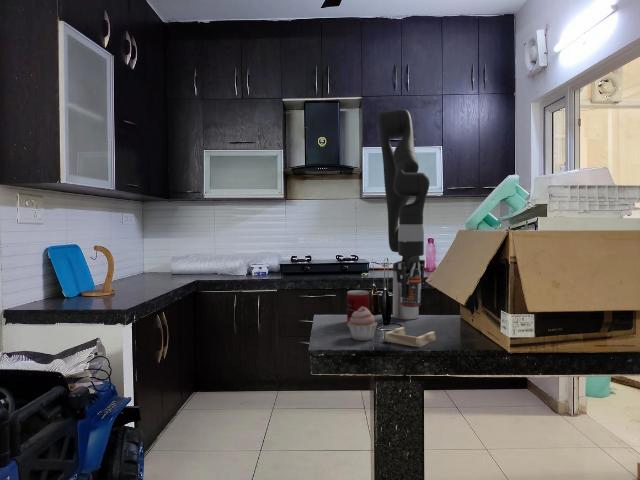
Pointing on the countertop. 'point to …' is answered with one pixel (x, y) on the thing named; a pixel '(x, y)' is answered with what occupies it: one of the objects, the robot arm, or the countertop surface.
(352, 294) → the canned food
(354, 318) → the cupcake
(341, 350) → the countertop surface
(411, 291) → the supplement bottle
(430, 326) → the countertop surface
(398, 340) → the keeper
